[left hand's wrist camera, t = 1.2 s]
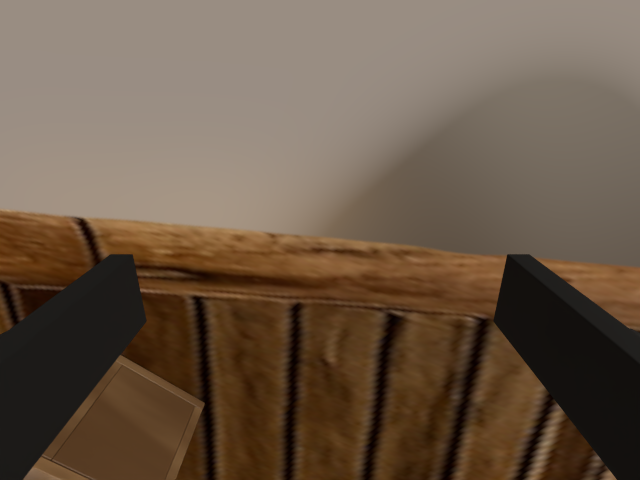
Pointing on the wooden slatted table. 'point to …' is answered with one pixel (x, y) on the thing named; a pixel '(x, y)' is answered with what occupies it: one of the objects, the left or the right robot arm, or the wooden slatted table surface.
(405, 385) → the wooden slatted table surface
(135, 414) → the chest
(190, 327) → the wooden slatted table surface
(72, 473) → the lid
